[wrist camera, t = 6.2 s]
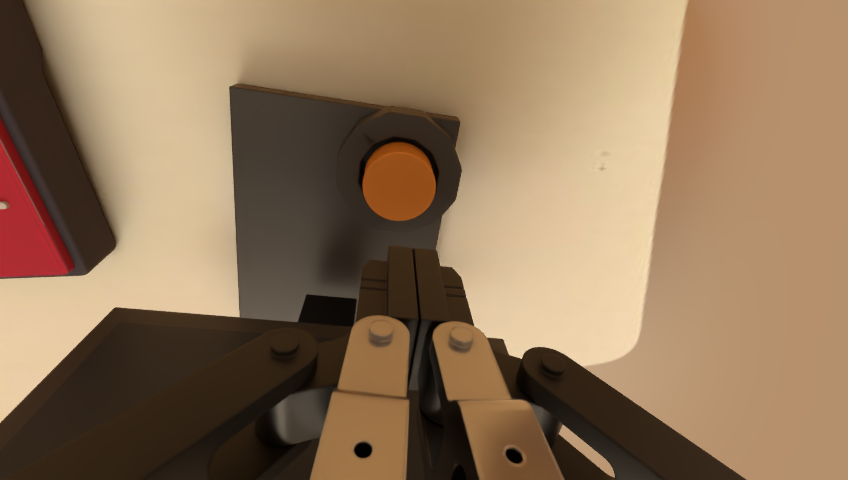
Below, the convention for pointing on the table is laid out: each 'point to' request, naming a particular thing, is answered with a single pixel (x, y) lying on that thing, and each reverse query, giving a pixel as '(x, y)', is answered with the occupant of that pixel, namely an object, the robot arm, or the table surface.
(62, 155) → the calculator
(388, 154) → the power button
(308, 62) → the table surface
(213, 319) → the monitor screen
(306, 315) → the monitor stand
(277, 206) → the monitor base
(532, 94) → the table surface
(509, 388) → the robot arm
